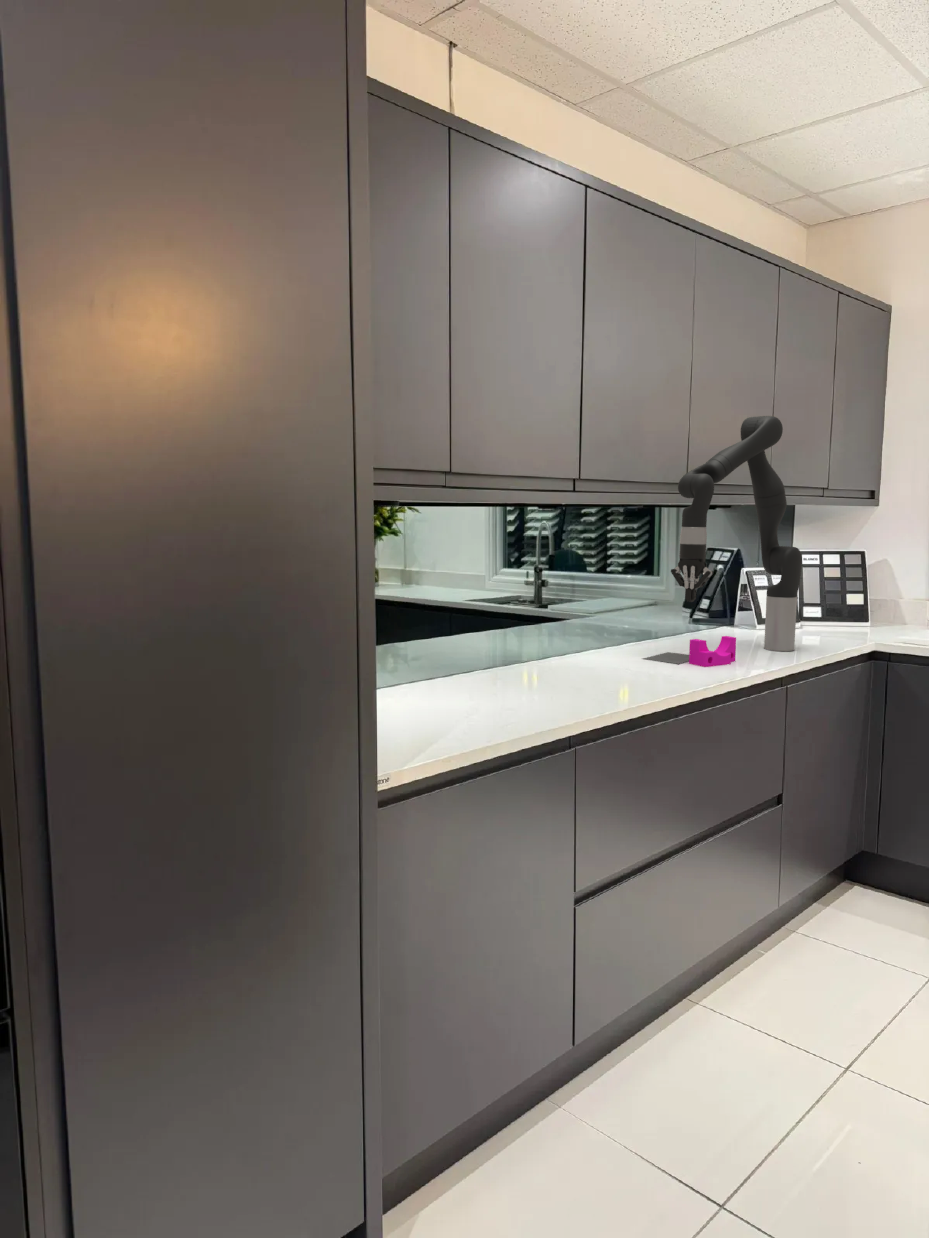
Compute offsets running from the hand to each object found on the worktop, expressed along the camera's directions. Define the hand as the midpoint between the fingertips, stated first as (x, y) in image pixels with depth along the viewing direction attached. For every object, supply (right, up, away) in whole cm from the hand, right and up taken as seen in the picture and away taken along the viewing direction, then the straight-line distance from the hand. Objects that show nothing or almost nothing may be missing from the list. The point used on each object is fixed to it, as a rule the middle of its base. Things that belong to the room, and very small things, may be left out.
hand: (690, 601), depth 256 cm
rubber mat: (-4, -17, +4) cm, 18 cm away
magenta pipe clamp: (+7, -19, -3) cm, 20 cm away
